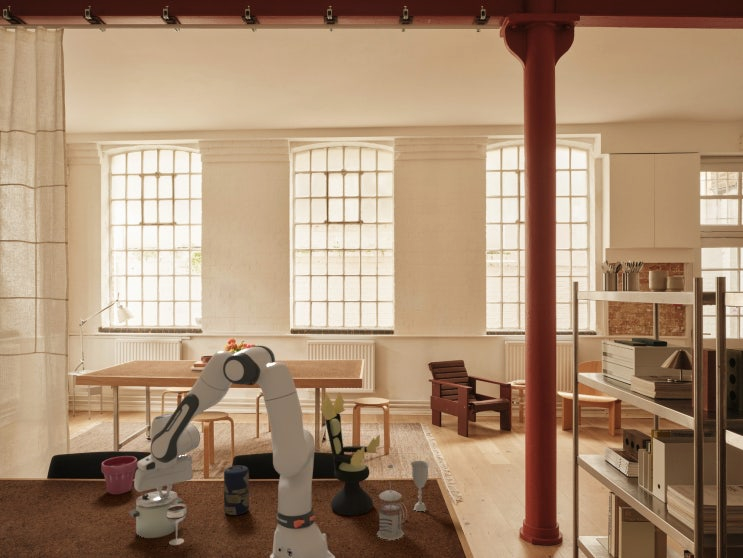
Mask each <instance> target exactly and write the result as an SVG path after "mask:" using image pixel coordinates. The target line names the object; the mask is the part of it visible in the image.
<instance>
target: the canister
mask: <svg viewBox="0 0 743 558" xmlns="http://www.w3.org/2000/svg"><path fill="white" fill-rule="evenodd" d="M249 473H250V471H249V468H248V466H245V465H241V464H240V465H232V466H229V467H226V468H225V469H224V471H223V502H224V503H223V507H224V508H223V510H224V512H225V514H227V515H231V516H238V515H243V514H245V513H247V512H248V511H249V507H250V493H249V492H250V474H249Z"/></svg>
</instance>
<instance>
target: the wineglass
mask: <svg viewBox="0 0 743 558" xmlns="http://www.w3.org/2000/svg"><path fill="white" fill-rule="evenodd" d="M166 509H167V512H166V517H167V519H168V520H169V521H170V522H173V523H174V524H175V528H176V530H175V538H173V539H171V540H170V541H169V542H168V543H169V545H171V546H178V545H181V544H183V543H184V542H185V539H183V538H179V537H178V531H179V529H178V527H179V526H178V525H179V523H180V522H182V521H183V520H184V519H185V518H186V516H187V512H188V511H187V504H185V503H184V502H183V503H176V504H172V505H169V506H168V507H167V508H166Z"/></svg>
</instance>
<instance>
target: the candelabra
mask: <svg viewBox="0 0 743 558" xmlns="http://www.w3.org/2000/svg"><path fill="white" fill-rule="evenodd" d="M324 397H325V398H324V399H323V400H322V404H321V407H320V411H321V413H322V416H323V417H324V419H325V420H324V421H325V426H326V431H327V435H328V436H327V437H328V441H329V445H330V449H331V453H332V457H333V458H332V459H333V466H334V470H333V471H334V472H333V473H334V477H335V478H336V479H337V480H338V481H340V482H343V483H344V486H343V487H342V488H341V489H340V490H339V491H337V492H336V494H335V495H334V496H333V497H332V499H331V501H330V507H331V509H332V510H333V511H334V512H335V513H337V514H339V515H344V516H359V515H360V516H361V515H363V514H366V513H368V512H369V511H370V510H372V508H373V507H374V502H373V498H372V497H371V495H369V494H368V493H367V491H365V490H364V489H363V488H362V487H361V485H360V483H361V482H363V481H365V480H367V478H369V475H370V469H369V466H368V465H366V464H365V463H363V462H362V460H363V459H365V453H368V454H369V453H370V454H377V448H378V447H380V442H381V441H380V440H381V439H380V438H381V437H380V436H381V435H380V434H378V435H377V436H376V438H374V437H373V438H372V439H371V440H370V442H369V444H368V445H367V446H357V445H356V446H355V445H354V446H353V445H352V446H351V445H349V446H348V445H347V446H344V443H343V434H342V433H343V432H342V421H341V415H340V414H341V413H344V411H346V409H345V408H344V403H345V400H344V398H343V397H342V395H341V393H340V392H338V394H337V397H336V398H335V401H334V402H332V400H331V398H330V396H329V395H328V393H327V392H326V394H325V395H324ZM345 453H354V454H353V455H352V456H347V455H345Z"/></svg>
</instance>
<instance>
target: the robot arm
mask: <svg viewBox="0 0 743 558" xmlns="http://www.w3.org/2000/svg"><path fill="white" fill-rule="evenodd" d="M232 384H233V385H245V386H254V385H255V384H257V385H258V386H259V387H260V389H261V393H262V396H263V400H264V401H263V402H264V405H265V410H266V413H267V416H268V421H269V427H270V428H269V429H270V437H271V439H270V440H271V448H272V464H273V465H272V466H273V468H274V470H275V472H277V474H278V475H279V481H278V485H277V486H278V488H277V494H278V495H277V502H278V503H277V505H278V506H277V510H276V522H277V525H276V528H275V530H274V533H273V545H272V553H271V554H270V555H269V558H336V556H335V555H334V554H333V553H331V551H330V550H329V548H328V542H327V534H326V533H323V532H322V531H321V530H320V527H319V526H318V524H317V523H316V520H317V518H316V517H317V515H315V511H314V508H313V507H312V497H313V496H312V494H313V493H312V488H313V486H312V483H313V472H314V461H315V460H314V459H315V438H314V436H313V434H312V433H311V432H310V431H309V430H306V429H305V428H304V425H303V424H304V423H303V411H302V410H303V409H302V407H301V403H300V399H299V396H298V390H297V388H296V384H295V382H294V378H293V375H292V374H291V371H290V369H289V367H288V366H287V364H285V363H284V362H282V361H281V362H280V361H276V358H275V354H274V352H273V351H272V349H271V348H269V347H268V346H265V345H254V346H251V347H245V348H242V349H241V350H238V351H236V352H233V353H232V352H230V351H228V350H219V351H217V352H215V353H214V354H213V355H212V356H211V358H210V359H209V360H208V361H207V363H206V364H205V366H204V367H203V369H202V371H201V372H200V374H199V376H198V378H197V379H196V381H195V383H194V384H193V386H192V387H191V389H190V390H189V391H188V393H187V394H186V396H184V398H183V399H182V401H181V402H180V403H179V404H178V406H177V407H176V409H175V410H174V412H173V413H165V414H161V415H158V416H155V418H153V420H152V423H151V426H150V454H149V455H148V456H145V457H143V458H141V459H140V460H137V468H136V470H135V473H134V479H133V481H134V482H133V486H134V489H135V490H136V491H137V492H138V493H141V492H146V491H150V490H153V489H156V491H158V492H159V493H160V498H161V499H162V498H166V497H169V492H170V491H172V488H173V485H174V484H179V483H182V482H187V481H191V480H192V479H193V476H194V473H193V466H192V464H193V456H192V455H189V454H188V453H190V452H191V451H194V450H195V449H197V448H198V446H199V445H200V442H201V434H200V432H199V429H198V428H197V427H196V426H195V425H193V424H190V423H191V422H192V420H194V418H196V417H197V416H198V415H200V414H201V413H202V412H205V411H206V410H208V409H211V408H212V407H214V406H216V405H218V404H219V403H220V402H221V401H222V400H223V399H224V397H225V396H226V395H227V393H228V391H230V389H231V386H232ZM163 487H166V490H164V491H165V492H162V491H163Z"/></svg>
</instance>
